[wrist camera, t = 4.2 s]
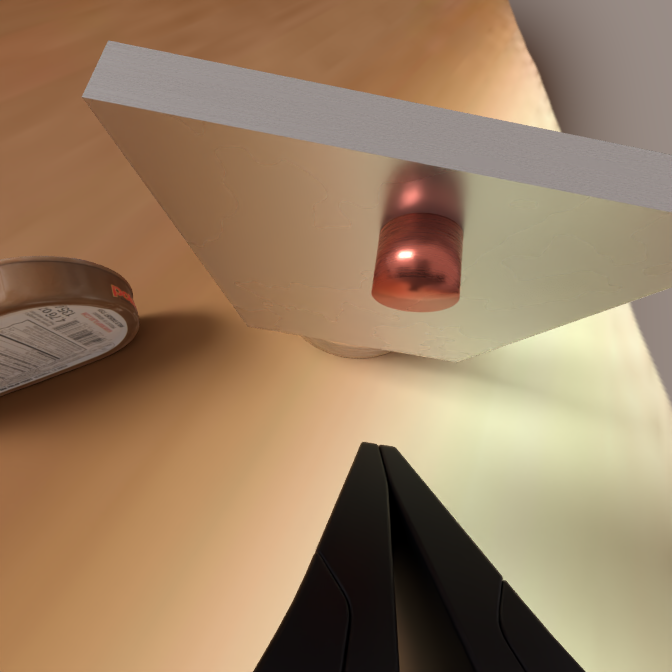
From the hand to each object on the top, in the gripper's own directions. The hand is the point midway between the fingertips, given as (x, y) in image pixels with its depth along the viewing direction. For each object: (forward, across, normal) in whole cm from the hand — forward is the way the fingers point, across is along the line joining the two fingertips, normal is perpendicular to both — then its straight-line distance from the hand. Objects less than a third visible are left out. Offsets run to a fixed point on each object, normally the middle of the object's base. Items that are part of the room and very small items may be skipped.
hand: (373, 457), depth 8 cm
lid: (+5, 0, -4) cm, 7 cm away
